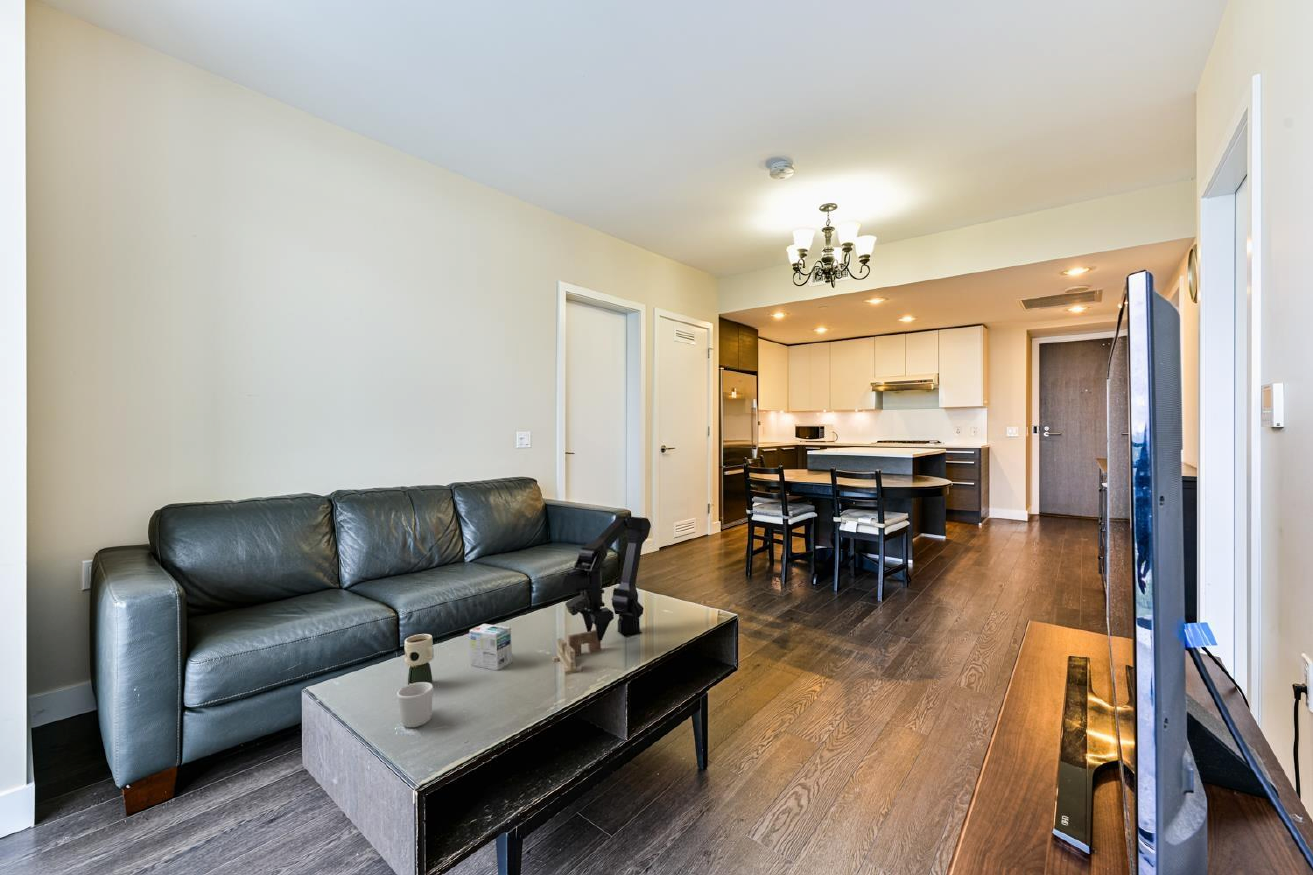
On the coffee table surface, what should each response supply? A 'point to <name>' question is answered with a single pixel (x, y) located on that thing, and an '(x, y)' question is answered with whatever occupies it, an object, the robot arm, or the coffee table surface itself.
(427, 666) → the character mug
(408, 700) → the cup
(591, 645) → the walnut plate
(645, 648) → the coffee table surface
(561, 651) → the maple jig
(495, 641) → the light bulb box
